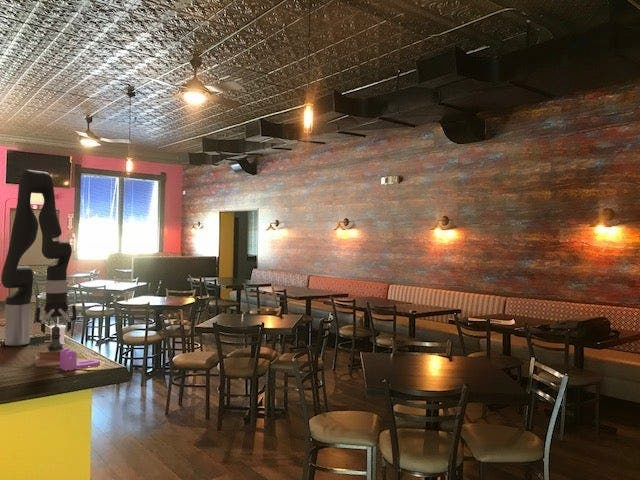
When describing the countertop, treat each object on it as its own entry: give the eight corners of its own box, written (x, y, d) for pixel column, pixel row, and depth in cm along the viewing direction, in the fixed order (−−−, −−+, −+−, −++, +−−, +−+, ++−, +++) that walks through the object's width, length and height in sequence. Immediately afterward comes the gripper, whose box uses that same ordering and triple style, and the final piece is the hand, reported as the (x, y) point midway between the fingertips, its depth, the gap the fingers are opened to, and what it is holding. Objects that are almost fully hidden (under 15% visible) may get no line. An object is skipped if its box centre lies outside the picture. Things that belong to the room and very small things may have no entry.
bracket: (65, 371, 181) (65, 351, 181) (59, 368, 185) (60, 349, 185) (102, 365, 190) (102, 346, 190) (96, 362, 194) (96, 344, 194)
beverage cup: (68, 346, 217) (69, 313, 217) (59, 349, 211) (60, 315, 211) (54, 345, 218) (55, 312, 217) (45, 348, 212) (46, 315, 211)
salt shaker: (56, 356, 200) (57, 326, 200) (43, 355, 201) (44, 325, 201) (66, 353, 206) (67, 323, 205) (53, 352, 207) (54, 322, 207)
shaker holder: (36, 359, 195) (36, 351, 195) (65, 357, 199) (65, 349, 199) (35, 367, 185) (35, 358, 185) (66, 364, 190) (66, 356, 190)
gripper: (75, 289, 210) (75, 329, 210) (36, 291, 203) (35, 331, 203) (76, 291, 203) (76, 332, 203) (35, 293, 196) (35, 335, 196)
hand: (56, 332), depth 203 cm, fingers open, 8 cm apart
